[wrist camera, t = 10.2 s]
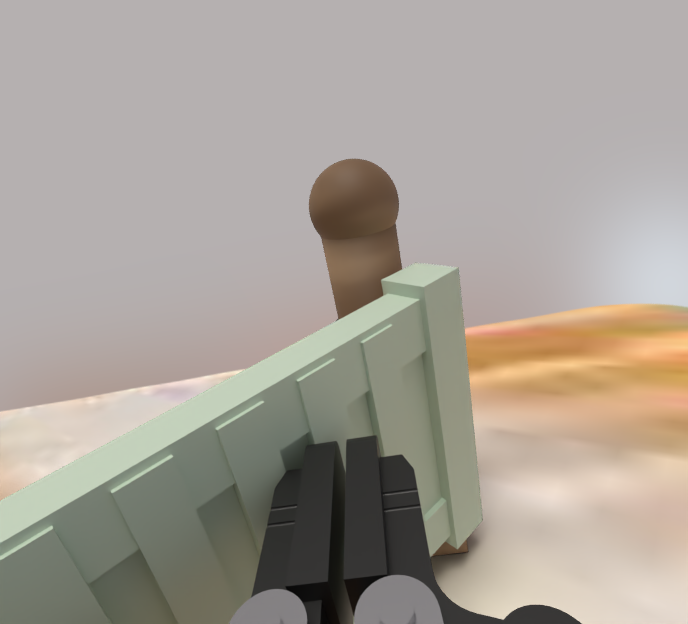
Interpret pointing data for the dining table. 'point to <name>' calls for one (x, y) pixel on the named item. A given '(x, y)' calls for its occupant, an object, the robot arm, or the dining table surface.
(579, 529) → the dining table surface
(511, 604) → the dining table surface
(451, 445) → the gate
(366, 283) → the post
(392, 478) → the robot arm
